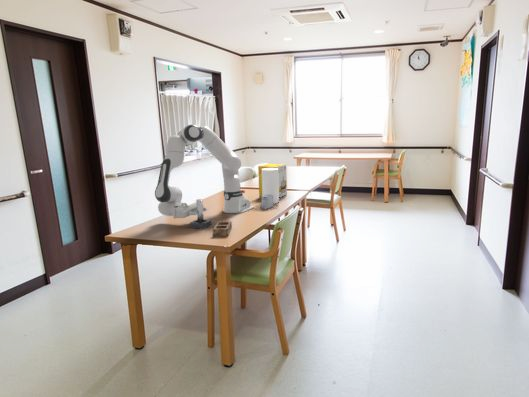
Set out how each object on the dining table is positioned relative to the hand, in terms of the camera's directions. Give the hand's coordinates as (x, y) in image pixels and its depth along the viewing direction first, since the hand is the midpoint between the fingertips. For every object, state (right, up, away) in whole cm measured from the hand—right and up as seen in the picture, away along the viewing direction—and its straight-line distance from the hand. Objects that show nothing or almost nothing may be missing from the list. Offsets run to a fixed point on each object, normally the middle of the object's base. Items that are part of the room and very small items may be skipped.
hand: (201, 211), depth 223 cm
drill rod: (0, -9, +2) cm, 9 cm away
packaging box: (+44, +9, +81) cm, 93 cm away
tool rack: (+14, -11, -11) cm, 21 cm away
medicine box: (+40, +1, +43) cm, 59 cm away
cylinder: (+42, +5, +60) cm, 74 cm away
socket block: (0, -9, +2) cm, 9 cm away
